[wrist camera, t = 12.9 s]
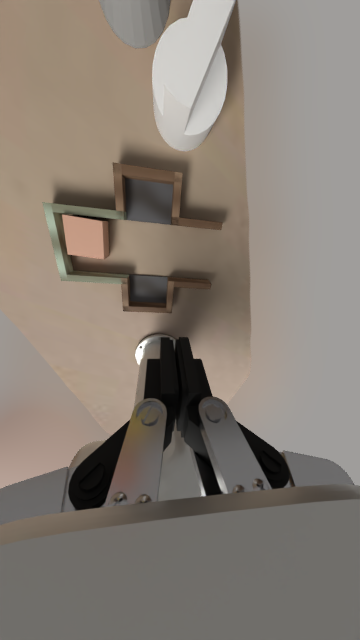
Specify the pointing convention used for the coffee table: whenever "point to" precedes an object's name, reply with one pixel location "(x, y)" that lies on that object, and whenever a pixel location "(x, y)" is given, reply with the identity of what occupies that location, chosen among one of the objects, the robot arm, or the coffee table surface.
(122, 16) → the lava lamp
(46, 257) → the coffee table surface
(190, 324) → the coffee table surface
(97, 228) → the terracotta block
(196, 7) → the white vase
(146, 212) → the box
